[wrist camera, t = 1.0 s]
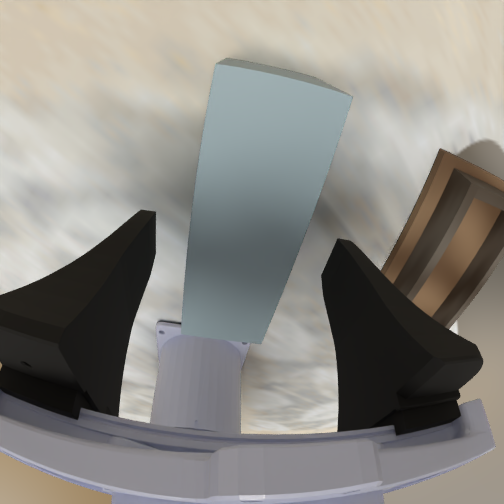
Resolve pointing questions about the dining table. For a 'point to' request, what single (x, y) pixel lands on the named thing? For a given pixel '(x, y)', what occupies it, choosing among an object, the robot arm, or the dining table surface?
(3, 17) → the dining table surface
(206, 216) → the pale blue bar
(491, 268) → the cradle
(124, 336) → the robot arm
